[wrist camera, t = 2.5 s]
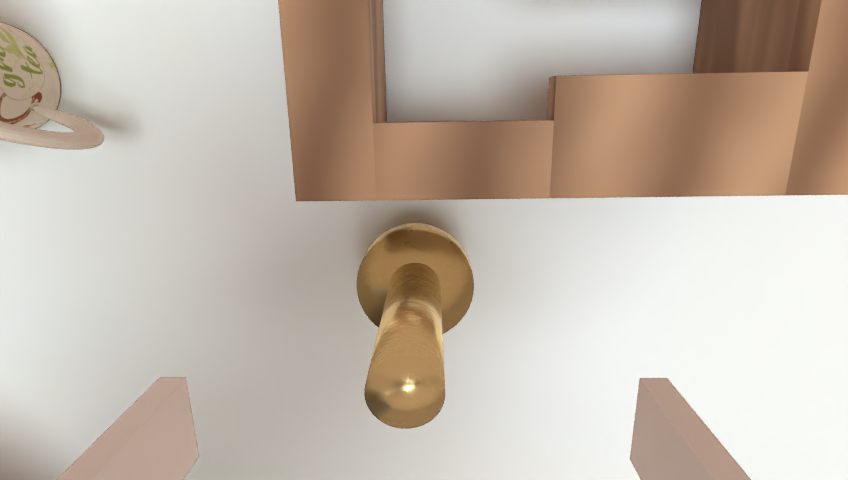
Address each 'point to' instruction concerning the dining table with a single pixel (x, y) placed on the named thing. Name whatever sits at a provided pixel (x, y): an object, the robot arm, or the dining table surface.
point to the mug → (35, 97)
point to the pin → (411, 318)
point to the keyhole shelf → (582, 116)
